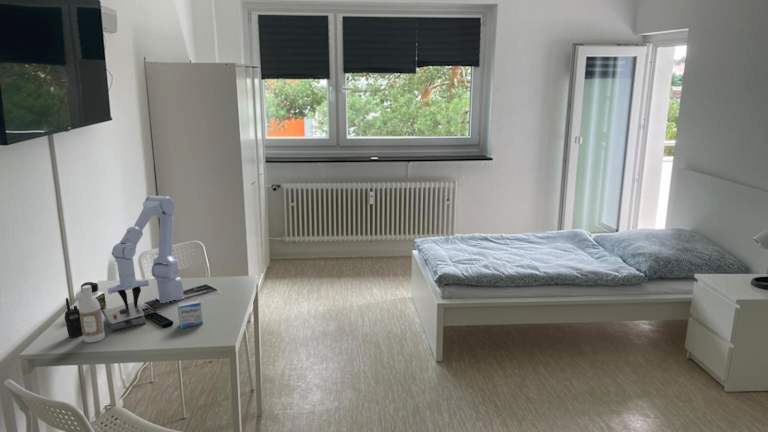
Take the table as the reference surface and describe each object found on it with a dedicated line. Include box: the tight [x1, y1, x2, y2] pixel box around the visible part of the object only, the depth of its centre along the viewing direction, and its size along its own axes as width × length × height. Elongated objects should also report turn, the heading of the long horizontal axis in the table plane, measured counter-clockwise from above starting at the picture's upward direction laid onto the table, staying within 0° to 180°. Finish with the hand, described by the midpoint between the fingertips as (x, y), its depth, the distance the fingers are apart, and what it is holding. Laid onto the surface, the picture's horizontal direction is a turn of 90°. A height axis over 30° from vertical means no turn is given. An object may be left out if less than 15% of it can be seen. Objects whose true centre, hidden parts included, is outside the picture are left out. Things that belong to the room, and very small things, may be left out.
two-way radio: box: [64, 297, 83, 339], centre depth 214 cm, size 6×4×15 cm
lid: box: [101, 301, 145, 325], centre depth 225 cm, size 12×14×2 cm
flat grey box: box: [103, 314, 147, 333], centre depth 226 cm, size 12×19×3 cm, turn 34°
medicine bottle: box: [77, 281, 107, 312], centre depth 237 cm, size 7×7×12 cm
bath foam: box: [78, 285, 106, 344], centre depth 210 cm, size 7×7×20 cm
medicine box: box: [176, 299, 204, 329], centre depth 222 cm, size 8×4×9 cm, turn 117°
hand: (131, 307), depth 230 cm, fingers closed on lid, 2 cm apart
